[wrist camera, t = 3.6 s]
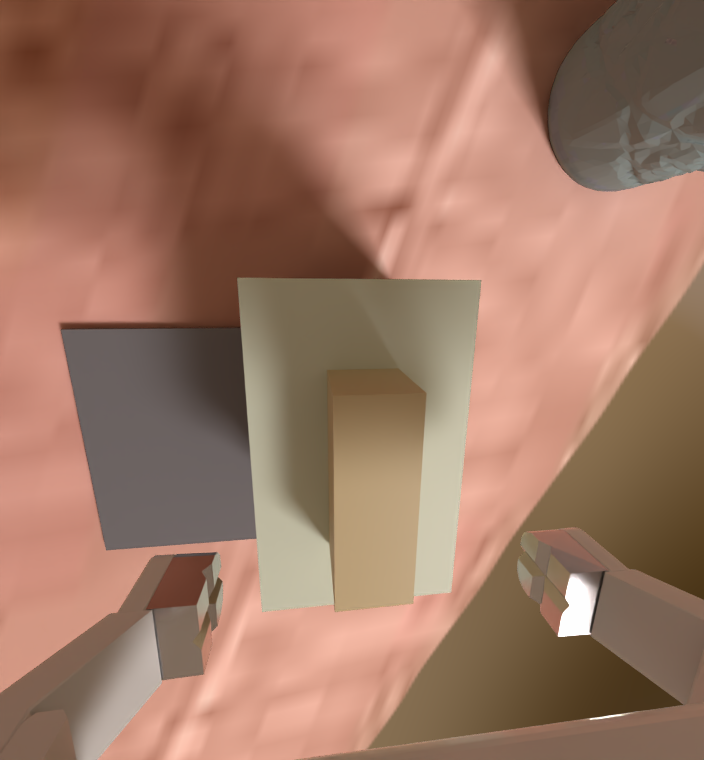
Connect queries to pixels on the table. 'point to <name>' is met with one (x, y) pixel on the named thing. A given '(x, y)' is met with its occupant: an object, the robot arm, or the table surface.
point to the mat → (164, 433)
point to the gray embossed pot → (632, 96)
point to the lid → (356, 435)
